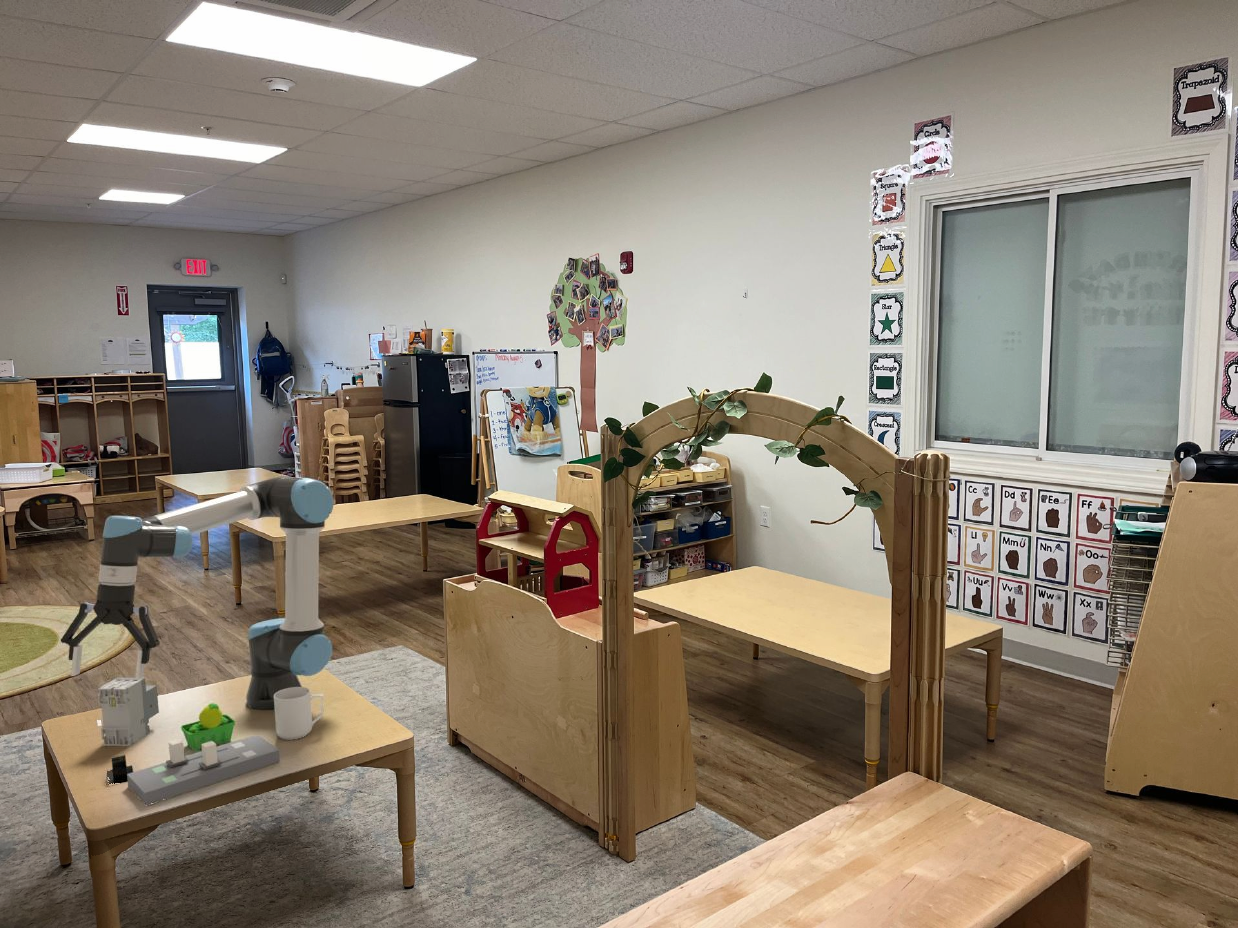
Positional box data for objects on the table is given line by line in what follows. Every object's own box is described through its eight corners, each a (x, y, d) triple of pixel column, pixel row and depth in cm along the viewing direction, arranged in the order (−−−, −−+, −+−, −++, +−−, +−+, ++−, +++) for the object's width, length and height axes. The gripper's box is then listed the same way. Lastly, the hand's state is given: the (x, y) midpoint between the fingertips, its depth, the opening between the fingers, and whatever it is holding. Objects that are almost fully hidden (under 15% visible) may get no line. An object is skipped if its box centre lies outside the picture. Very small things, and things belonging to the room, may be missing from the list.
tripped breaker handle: (216, 759, 211) (215, 739, 210) (221, 763, 208) (220, 743, 208) (199, 765, 208) (197, 744, 207) (203, 769, 206) (202, 748, 205)
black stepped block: (102, 771, 215) (101, 752, 214) (137, 763, 219) (135, 745, 218) (103, 791, 204) (102, 772, 204) (139, 783, 208) (138, 765, 207)
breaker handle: (184, 757, 212) (182, 737, 212) (188, 761, 210) (187, 741, 209) (166, 762, 210) (164, 742, 209) (170, 767, 207) (168, 746, 207)
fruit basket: (227, 731, 235) (224, 690, 234) (239, 741, 229) (236, 699, 227) (181, 745, 228) (177, 702, 226) (192, 755, 221) (189, 712, 220)
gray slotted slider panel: (258, 745, 226) (257, 733, 226) (279, 761, 217) (279, 749, 216) (128, 786, 205) (127, 773, 205) (145, 805, 196) (144, 792, 196)
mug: (276, 743, 227) (274, 701, 226) (276, 730, 235) (273, 689, 234) (326, 735, 231) (323, 694, 230) (323, 722, 240) (321, 682, 238)
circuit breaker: (163, 723, 242) (159, 669, 240) (130, 745, 228) (125, 689, 226) (137, 722, 242) (133, 669, 241) (102, 745, 228) (97, 688, 226)
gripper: (50, 581, 200) (40, 676, 199) (169, 588, 204) (159, 682, 203) (65, 577, 207) (55, 669, 206) (179, 585, 211) (170, 675, 210)
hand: (107, 676), depth 205 cm, fingers open, 13 cm apart
